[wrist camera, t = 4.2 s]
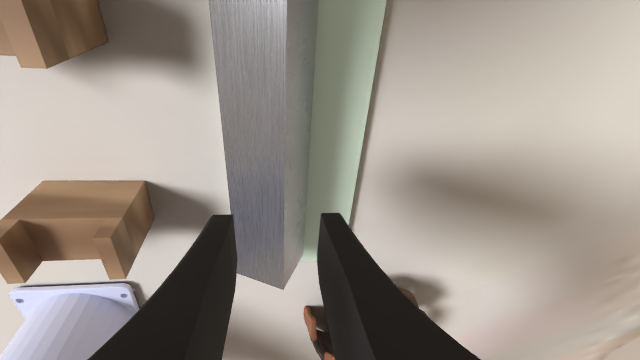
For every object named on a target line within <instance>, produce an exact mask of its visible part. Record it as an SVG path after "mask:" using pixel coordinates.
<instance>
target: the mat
mask: <svg viewBox="0 0 640 360" xmlns="http://www.w3.org/2000/svg"><path fill="white" fill-rule="evenodd" d="M386 2H387V0H319V1H318V18H317V34H316V51H315V68H314V84H313V101H312V118H311V135H310V151H309V168H308V185H307V202H306V218H305V235H304V252H303V256H302V257H301V259H300V261H299V262H304V261H317V249H318V239H319V228H320V218H321V213H340V214H341V215H342V216H343V218H344V220H345V221H346V223H347V224H348V226H349V220H350V214H351V209H352V203H353V197H354V191H355V185H356V179H357V173H358V167H359V161H360V155H361V150H362V144H363V138H364V132H365V126H366V120H367V114H368V108H369V102H370V96H371V91H372V85H373V79H374V73H375V67H376V61H377V55H378V49H379V43H380V37H381V32H382V26H383V20H384V14H385V8H386Z"/></svg>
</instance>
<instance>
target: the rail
mask: <svg viewBox="0 0 640 360" xmlns="http://www.w3.org/2000/svg"><path fill="white" fill-rule="evenodd" d="M318 1H319V0H209V7H210V17H211V26H212V36H213V45H214V55H215V65H216V74H217V84H218V93H219V103H220V113H221V122H222V132H223V142H224V151H225V161H226V170H227V180H228V190H229V199H230V209H231V215H233V218H234V228H235V239H236V249H237V259H238V260H237V273H238V274H241V275H244V276H246V277H249V278H252V279H255V280H258V281H260V282H263V283H266V284H269V285H271V286H274V287H277V288H280V289H284V288H285V286H286V284H287V282H288V280H289V279H290V277H291V275H292V273H293V272H294V270H295V268H296V266H297V264H298V263H299V261H300V259H301V257H302V256H303V252H304V235H305V218H306V202H307V185H308V168H309V151H310V135H311V118H312V101H313V84H314V68H315V51H316V34H317V18H318Z"/></svg>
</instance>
